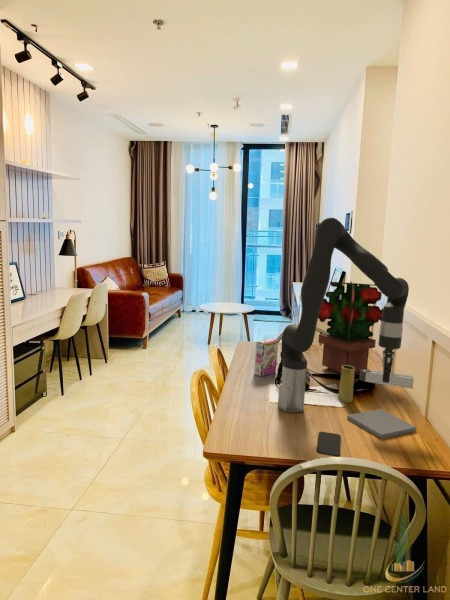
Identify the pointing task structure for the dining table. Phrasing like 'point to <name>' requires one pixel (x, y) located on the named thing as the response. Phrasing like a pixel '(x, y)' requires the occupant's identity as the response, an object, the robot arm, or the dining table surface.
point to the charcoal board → (381, 423)
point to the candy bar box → (266, 357)
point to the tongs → (394, 378)
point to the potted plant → (349, 325)
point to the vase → (346, 384)
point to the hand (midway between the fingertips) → (385, 379)
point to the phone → (328, 443)
